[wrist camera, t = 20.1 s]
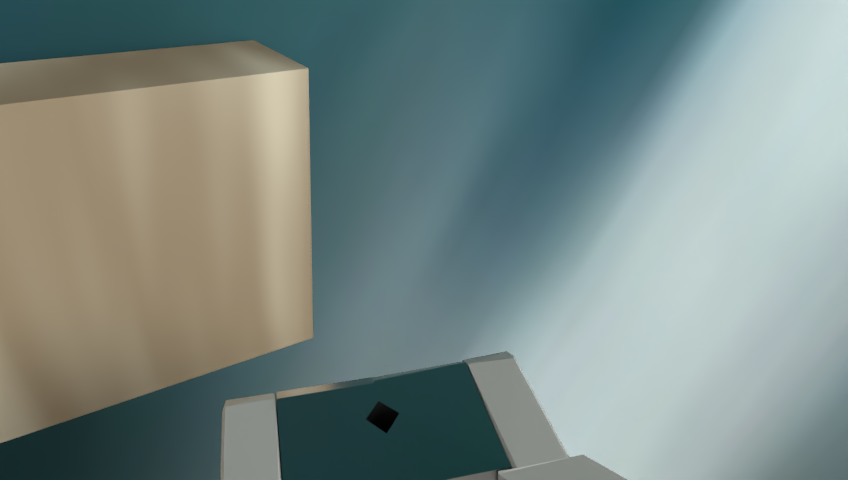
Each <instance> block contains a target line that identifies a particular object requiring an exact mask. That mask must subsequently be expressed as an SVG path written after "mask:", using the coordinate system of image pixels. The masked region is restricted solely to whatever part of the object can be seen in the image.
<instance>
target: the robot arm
mask: <svg viewBox="0 0 848 480" xmlns="http://www.w3.org/2000/svg"><path fill="white" fill-rule="evenodd" d="M221 480H627V479H625V478H623V477H622V476H620V475H618V474H616V473H615V472H613V471H611V470H609V469H608V468H606V467H604V466H602V465H601V464H599V463H597V462H595V461H594V460H592V459H590V458H588V457H587V456H585V455H579V456H574V457H569V456H568V454H567V452H566V451H565V449H564V447H563V445H562V443H561V441H560V440H559V438H558V436H557V434H556V432H555V430H554V429H553V427H552V425H551V423H550V421H549V419H548V418H547V416H546V414H545V412H544V410H543V408H542V407H541V405H540V403H539V401H538V399H537V398H536V396H535V394H534V392H533V390H532V388H531V387H530V385H529V383H528V381H527V379H526V377H525V376H524V374H523V372H522V370H521V368H520V366H519V365H518V363H517V361H516V359H515V357H514V356H513V355H511V354H510V353H508V352H507V351H506V352H501V353H496V354H491V355H486V356H481V357H476V358H471V359H466V360H463V361H462V362H457V363H451V364H446V365H440V366H435V367H429V368H423V369H418V370H412V371H407V372H401V373H396V374H390V375H385V376H379V377H373V378H372V377H371V378H365V379H358V380H352V381H345V382H338V383H332V384H325V385H318V386H312V387H305V388H299V389H292V390H285V391H279V392H277V396H276V394H274V393H270V394H263V395H257V396H251V397H244V398H238V399H232V400H226V402H225V405H224V407H223V410H222V441H221Z"/></svg>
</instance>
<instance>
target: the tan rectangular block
mask: <svg viewBox="0 0 848 480" xmlns="http://www.w3.org/2000/svg"><path fill="white" fill-rule="evenodd" d="M311 338H313V309H312V251H311V193H310V135H309V77H308V68H307V67H305V66H303V65H301V64H299V63H297V62H295V61H293V60H291V59H289V58H287V57H285V56H283V55H281V54H279V53H277V52H275V51H274V50H272V49H270V48H268V47H266V46H264V45H262V44H260V43H258V42H256V41H254V40H250V41H240V42H229V43H218V44H207V45H196V46H185V47H174V48H163V49H152V50H141V51H130V52H120V53H109V54H98V55H87V56H76V57H65V58H54V59H43V60H32V61H21V62H11V63H0V443H2V442H5V441H8V440H11V439H14V438H17V437H20V436H23V435H26V434H29V433H32V432H35V431H38V430H41V429H44V428H47V427H50V426H53V425H56V424H59V423H62V422H65V421H68V420H71V419H74V418H77V417H80V416H82V415H85V414H88V413H91V412H94V411H97V410H100V409H103V408H106V407H109V406H112V405H115V404H118V403H121V402H124V401H127V400H130V399H133V398H136V397H139V396H142V395H145V394H148V393H151V392H154V391H157V390H160V389H163V388H165V387H168V386H171V385H174V384H177V383H180V382H183V381H186V380H189V379H192V378H195V377H198V376H201V375H204V374H207V373H210V372H213V371H216V370H219V369H222V368H225V367H228V366H231V365H234V364H237V363H240V362H243V361H246V360H248V359H251V358H254V357H257V356H260V355H263V354H266V353H269V352H272V351H275V350H278V349H281V348H284V347H287V346H290V345H293V344H296V343H299V342H302V341H305V340H308V339H311Z"/></svg>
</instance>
